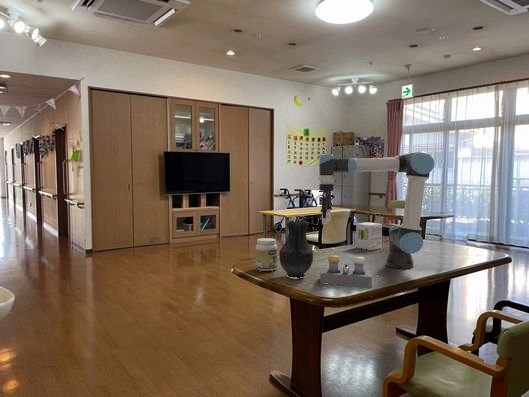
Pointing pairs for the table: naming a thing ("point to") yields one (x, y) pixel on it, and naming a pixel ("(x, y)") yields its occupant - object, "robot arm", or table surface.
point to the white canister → (369, 235)
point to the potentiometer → (345, 269)
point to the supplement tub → (266, 254)
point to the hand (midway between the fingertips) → (326, 222)
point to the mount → (346, 278)
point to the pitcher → (296, 250)
